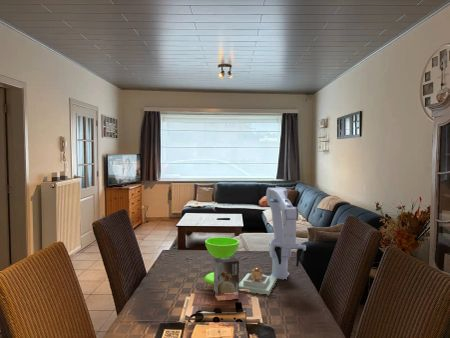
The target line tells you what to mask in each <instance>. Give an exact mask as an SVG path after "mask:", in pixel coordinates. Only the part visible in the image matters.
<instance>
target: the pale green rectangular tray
mask: <svg viewBox="0 0 450 338" xmlns="http://www.w3.org/2000/svg"><path fill="white" fill-rule="evenodd" d="M277 280H278V279H277V277H273V276H271V275H266V274H264V273H263V277H262V282H255V281H251V273H249V272H248V273H246V275H245V276H244V277H243V278H242V280H241V281H239V289H249V290H250V291H251V293H250V294H256V293H258V295H262V294H267V295H266V296H270V294H271V293H272V291H273V289H272V288H274V287H275V286H276V284H277V282H278V281H277ZM276 281H277V282H276ZM275 283H276V284H275ZM271 290H272V291H271Z"/></svg>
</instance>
